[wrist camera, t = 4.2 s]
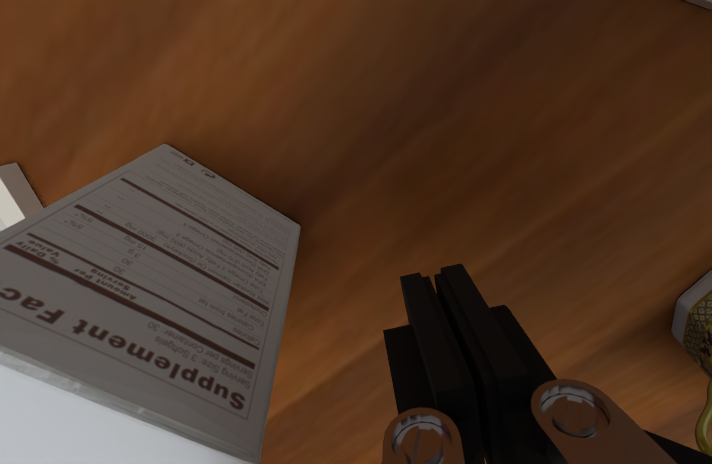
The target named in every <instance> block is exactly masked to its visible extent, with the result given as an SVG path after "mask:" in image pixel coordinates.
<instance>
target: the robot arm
mask: <svg viewBox="0 0 712 464" xmlns="http://www.w3.org/2000/svg"><path fill="white" fill-rule="evenodd" d="M685 1H688V2H691V3H693V4H696V5H699V6H702V7H704V8H707V9H712V0H685ZM434 278H435V285H436V291H437V294H436V292H435V289H434V287H433V285H432V282H431V280H430V278H429V276H427V277H421V274H420V273H415V274H410V275H406V276H401V277H400V281H401V286H402V291H403V296H404V301H405V306H406V311H407V316H408V321H409V325H406V326H401V327H397V328H392V329H387V330H383V332H384V338H385V344H386V349H387V355H388V360H389V366H390V371H391V377H392V382H393V388H394V393H395V399H396V404H397V410H398V416H397V417H395V418H394V419H393V420H392V421H391V422H390V424H389V426H388V427H387V429H386V431H385V435H384V440H383V457H382V464H485V460H486V463H487V464H712V456H709V455H707V454H704V453H702V452H699V451H697V450H694V449H691V448H689V447H686V446H684V445H681V444H679V443H676V442H674V441H671V440H668V439H666V438H663V437H661V436H658V435H656V434H653V433H651V432H648V431H645V430H643V429H641V428H640V427H639V426H638V425H637V424H636V423H635V422H634V421H633V420H632V419H631V418H630V417H629V416H628V415H627V414H626V413H625V412H624V411H623V410H622V409H621V408H620V407H619V406H618V405H617V404H616V403H614V402H613V401H612V400H611V399H610V398H609V397H608V396H607V395H606V394H604V393H603V392H602V391H600V390H599V389H597V388H595V387H593V386H591V385H589V384H587V383H584V382H580V381H576V380H570V379H557V378H556V377H555V375H554V374H553V373H552V371H551V370H550V368H549V367H548V365H547V364H546V362H545V361H544V359H543V358H542V357H541V355H540V354H539V352H538V351H537V349H536V348H535V346H534V345H533V343H532V342H531V341H530V339H529V338H528V336H527V335H526V333H525V332H524V330H523V329H522V327H521V326H520V325H519V323H518V322H517V320H516V319H515V317H514V316H513V314H512V313H511V311H510V310H509V309H508V308H507V306H505V305H501V306H496V307H491V308H489V307H488V306H487V304H486V302H485V301H484V299H483V297H482V296H481V294H480V293H479V291H478V289H477V288H476V286H475V284H474V283H473V281H472V279H471V278H470V276H469V275H468V273H467V271H466V270H465V268H464V266H463V265H462V264H457V265H452V266H447V267H443V268H441V273H440V274H436V275H434ZM484 457H485V460H484Z"/></svg>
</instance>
